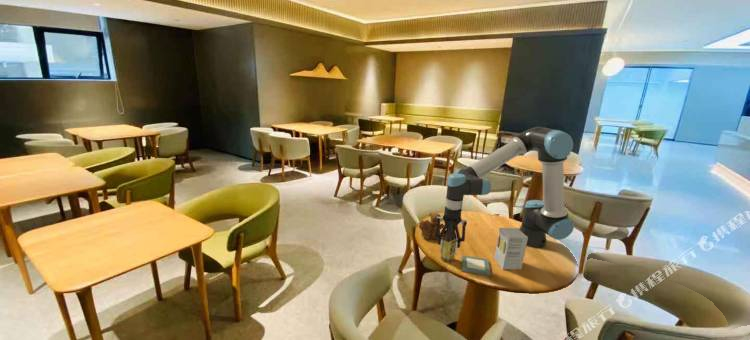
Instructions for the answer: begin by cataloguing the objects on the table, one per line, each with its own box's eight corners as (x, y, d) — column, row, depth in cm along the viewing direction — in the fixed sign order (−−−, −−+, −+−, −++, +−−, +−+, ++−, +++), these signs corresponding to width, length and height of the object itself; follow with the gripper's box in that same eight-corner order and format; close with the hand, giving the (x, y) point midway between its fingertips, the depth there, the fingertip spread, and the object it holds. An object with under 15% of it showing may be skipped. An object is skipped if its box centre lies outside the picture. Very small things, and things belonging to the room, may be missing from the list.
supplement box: (493, 258, 150) (499, 227, 146) (511, 258, 151) (517, 227, 146) (502, 270, 141) (508, 237, 137) (522, 269, 142) (528, 237, 137)
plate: (487, 261, 147) (488, 259, 147) (490, 276, 136) (490, 273, 136) (461, 257, 150) (462, 254, 150) (462, 271, 139) (462, 268, 138)
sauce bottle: (451, 264, 144) (456, 225, 138) (438, 260, 147) (442, 222, 141) (455, 258, 149) (460, 220, 144) (443, 254, 152) (447, 217, 147)
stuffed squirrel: (446, 238, 168) (449, 216, 164) (425, 243, 162) (427, 220, 158) (435, 230, 176) (438, 209, 173) (415, 234, 170) (417, 213, 167)
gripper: (474, 206, 142) (468, 251, 148) (432, 201, 146) (428, 244, 153) (475, 213, 135) (468, 259, 141) (431, 207, 139) (427, 252, 146)
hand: (447, 251), depth 147 cm, fingers closed on sauce bottle, 6 cm apart
